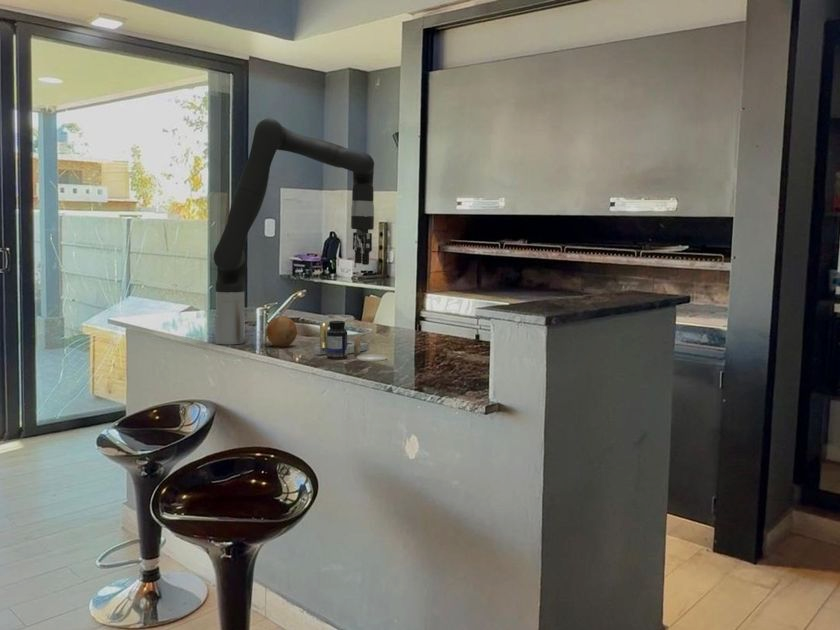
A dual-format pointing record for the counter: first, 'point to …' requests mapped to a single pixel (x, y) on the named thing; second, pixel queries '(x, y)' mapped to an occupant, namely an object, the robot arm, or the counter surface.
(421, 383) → the counter surface
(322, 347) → the grey plate with post
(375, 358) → the coaster
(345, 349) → the pill bottle
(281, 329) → the onion
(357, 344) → the dowel
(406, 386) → the counter surface
